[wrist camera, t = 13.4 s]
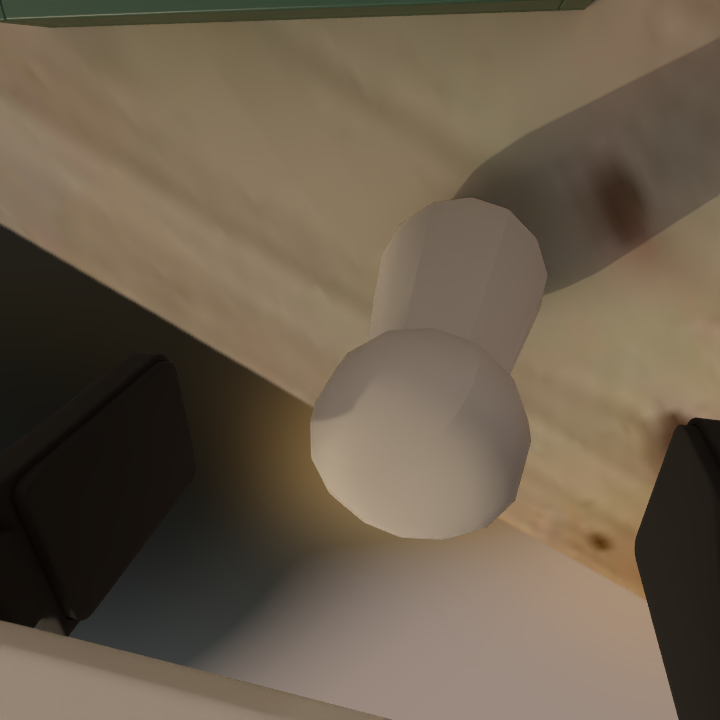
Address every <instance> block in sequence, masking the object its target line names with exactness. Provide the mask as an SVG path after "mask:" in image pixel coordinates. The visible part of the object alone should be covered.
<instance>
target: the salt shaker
mask: <svg viewBox="0 0 720 720" xmlns="http://www.w3.org/2000/svg"><path fill="white" fill-rule="evenodd" d="M547 277H548V275H547V272H546V268H545V265H544V261H543V258H542V255H541V251H540V248H539V244H538V241H537V239H536V238H535V236H534V235H533V234H532V233H531V232H530V231H529V230H528V229H527V228H526V227H525V226H524V225H523V224H522V223H521V222H520V221H519V220H518V219H517V218H516V216H515V215H514V214H513V213H512V212H511V211H510V210H509V209H506V208H503V207H500V206H497V205H494V204H491V203H488V202H485V201H482V200H479V199H476V198H473V197H470V198H462V199H454V200H447V201H439V202H434V203H432V204H430V205H429V206H427V207H426V208H424V209H423V210H421V211H420V212H418V213H417V214H415V215H414V216H412V217H411V218H409V219H408V220H406V221H405V222H403V223H402V224H400V225H399V227H398V229H397V231H396V232H395V234H394V236H393V237H392V239H391V241H390V242H389V244H388V246H387V247H386V249H385V251H384V253H383V254H382V257H381V263H380V268H379V274H378V280H377V286H376V292H375V298H374V303H373V309H372V315H371V321H370V327H369V333H368V339H367V343H365V344H363V345H361V346H359V347H358V348H356V349H354V350H352V351H351V352H349V353H347V355H346V356H345V357H344V359H343V360H342V361H341V363H340V364H339V366H338V367H337V368H336V370H335V372H334V373H333V375H332V376H331V378H330V379H329V381H328V383H327V384H326V386H325V387H324V389H323V391H322V392H321V394H320V395H319V397H318V398H317V400H316V403H315V406H314V410H313V414H312V417H311V458H312V460H313V462H314V464H315V466H316V468H317V470H318V472H319V474H320V476H321V478H322V480H323V482H324V484H325V485H326V487H327V489H328V491H329V493H330V494H331V495H332V496H334V497H335V498H336V499H337V500H338V501H339V502H340V503H342V504H343V505H344V506H345V507H346V508H348V509H349V510H350V511H351V512H353V513H354V514H355V515H356V516H357V517H358V518H360V519H361V520H362V521H363V522H365V523H367V524H369V525H372V526H374V527H376V528H379V529H381V530H384V531H386V532H388V533H391V534H393V535H396V536H399V537H403V538H404V537H406V538H420V539H438V540H439V539H448V538H451V537H455V536H458V535H462V534H465V533H469V532H472V531H476V530H479V529H482V528H486V527H488V526H489V525H490V524H491V523H492V521H494V520H495V519H496V518H497V517H498V516H499V515H500V514H501V513H502V512H503V511H504V510H505V509H506V508H507V507H509V506H510V505H511V504H512V503H513V502H514V501H515V498H516V495H517V491H518V488H519V484H520V480H521V477H522V473H523V469H524V466H525V462H526V458H527V454H528V450H529V447H530V443H531V437H530V430H529V423H528V419H527V416H526V413H525V410H524V407H523V404H522V401H521V399H520V396H519V393H518V390H517V387H516V384H515V381H514V380H513V378H512V377H511V376H510V373H511V371H512V369H513V367H514V364H515V362H516V360H517V358H518V356H519V354H520V351H521V349H522V347H523V345H524V343H525V340H526V338H527V336H528V334H529V332H530V329H531V327H532V325H533V323H534V321H535V319H536V316H537V314H538V312H539V309H540V305H541V301H542V297H543V293H544V289H545V285H546V281H547Z"/></svg>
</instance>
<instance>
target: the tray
mask: <svg viewBox="0 0 720 720" xmlns="http://www.w3.org/2000/svg"><path fill="white" fill-rule="evenodd" d="M592 1H593V0H0V22H1V23H11V24H21V25H31V26H40V27H50V28H54V27H83V26H113V25H143V24H173V23H203V22H232V21H262V20H292V19H322V18H351V17H381V16H411V15H441V14H470V13H500V12H530V11H560V10H584V9H585V8H586V7H587V6H588V5H589V4H590V3H591V2H592Z"/></svg>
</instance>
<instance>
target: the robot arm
mask: <svg viewBox="0 0 720 720" xmlns="http://www.w3.org/2000/svg"><path fill="white" fill-rule="evenodd" d="M195 472H196V461H195V456H194V452H193V447H192V442H191V438H190V433H189V428H188V423H187V419H186V414H185V409H184V405H183V401H182V396H181V391H180V387H179V381H178V377H177V372H176V368H175V366H174V365H173V364H172V363H170V362H169V360H168V359H167V357H166V356H164V355H162V354H154V353H146V352H134V353H133V354H131V355H129V356H128V357H127V358H125V359H124V360H123V361H122V362H120V363H119V364H118V365H116V366H115V367H114V368H112V369H111V370H110V371H109V372H107V373H106V374H105V375H103V376H102V377H101V378H100V379H98V380H97V381H96V382H94V383H93V384H92V385H90V386H89V387H88V388H86V389H85V390H84V391H83V392H81V393H80V394H79V395H77V396H76V397H75V398H73V399H72V400H71V401H70V402H68V403H67V404H66V405H64V406H63V407H62V408H60V409H59V410H58V411H57V412H55V413H54V414H53V415H51V416H50V417H49V418H48V419H46V420H45V421H44V422H42V423H41V424H40V425H39V426H37V427H36V428H35V429H33V430H32V431H31V432H29V433H28V434H27V435H25V436H24V437H23V438H21V439H20V440H19V441H18V442H16V443H15V444H14V445H12V446H11V447H10V448H8V449H7V450H6V451H5V452H3V453H2V454H1V455H0V720H391V719H387V718H383V717H379V716H375V715H372V714H368V713H364V712H360V711H356V710H352V709H348V708H344V707H340V706H337V705H333V704H329V703H325V702H321V701H317V700H314V699H310V698H306V697H302V696H298V695H294V694H290V693H286V692H283V691H279V690H274V689H271V688H267V687H263V686H259V685H256V684H252V683H248V682H244V681H240V680H236V679H232V678H228V677H224V676H221V675H217V674H212V673H209V672H205V671H201V670H197V669H193V668H189V667H185V666H181V665H178V664H174V663H169V662H166V661H162V660H158V659H154V658H150V657H146V656H142V655H138V654H134V653H130V652H126V651H122V650H118V649H114V648H110V647H106V646H102V645H98V644H94V643H90V642H86V641H82V640H78V639H74V638H71V637H68V636H69V634H70V633H71V632H72V631H73V629H74V628H75V627H76V625H77V624H78V623H79V621H80V620H85V619H87V618H88V617H89V616H90V615H91V614H92V613H93V612H94V611H95V609H96V608H97V607H98V605H99V604H100V603H101V601H102V600H103V599H104V597H105V596H106V595H107V593H108V592H109V591H110V589H111V588H112V587H113V585H114V584H115V583H116V581H117V580H118V579H119V577H120V576H121V575H122V573H123V572H124V571H125V569H126V568H127V567H128V566H129V564H130V563H131V561H132V560H133V559H134V558H135V556H136V555H137V554H138V552H139V551H140V550H141V548H142V547H143V546H144V544H145V543H146V542H147V540H148V539H149V538H150V536H151V535H152V534H153V532H154V531H155V529H156V528H157V527H158V526H159V524H160V523H161V522H162V520H163V519H164V518H165V516H166V515H167V514H168V512H169V511H170V510H171V508H172V507H173V506H174V504H175V503H176V502H177V501H178V499H179V498H180V497H181V495H182V494H183V493H184V491H185V490H186V489H187V487H188V485H190V483H191V482H192V480H193V478H194V476H195ZM635 557H636V562H637V566H638V569H639V573H640V577H641V581H642V584H643V588H644V592H645V595H646V599H647V603H648V607H649V610H650V614H651V618H652V622H653V625H654V629H655V633H656V636H657V640H658V644H659V648H660V651H661V655H662V659H663V663H664V666H665V670H666V674H667V678H668V681H669V685H670V689H671V692H672V696H673V700H674V703H675V707H676V711H677V715H678V719H679V720H720V420H711V419H703V418H693V419H691V420H690V421H689V422H688V424H687V425H678V426H677V427H676V429H675V431H674V433H673V436H672V439H671V441H670V444H669V447H668V450H667V453H666V455H665V458H664V461H663V464H662V466H661V469H660V472H659V475H658V478H657V480H656V483H655V486H654V489H653V491H652V494H651V497H650V500H649V503H648V505H647V508H646V511H645V514H644V516H643V519H642V522H641V525H640V528H639V530H638V533H637V536H636V540H635ZM36 624H37V625H38V627H39V629H40V630H39V629H35V628H34V627H35V626H36Z"/></svg>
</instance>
